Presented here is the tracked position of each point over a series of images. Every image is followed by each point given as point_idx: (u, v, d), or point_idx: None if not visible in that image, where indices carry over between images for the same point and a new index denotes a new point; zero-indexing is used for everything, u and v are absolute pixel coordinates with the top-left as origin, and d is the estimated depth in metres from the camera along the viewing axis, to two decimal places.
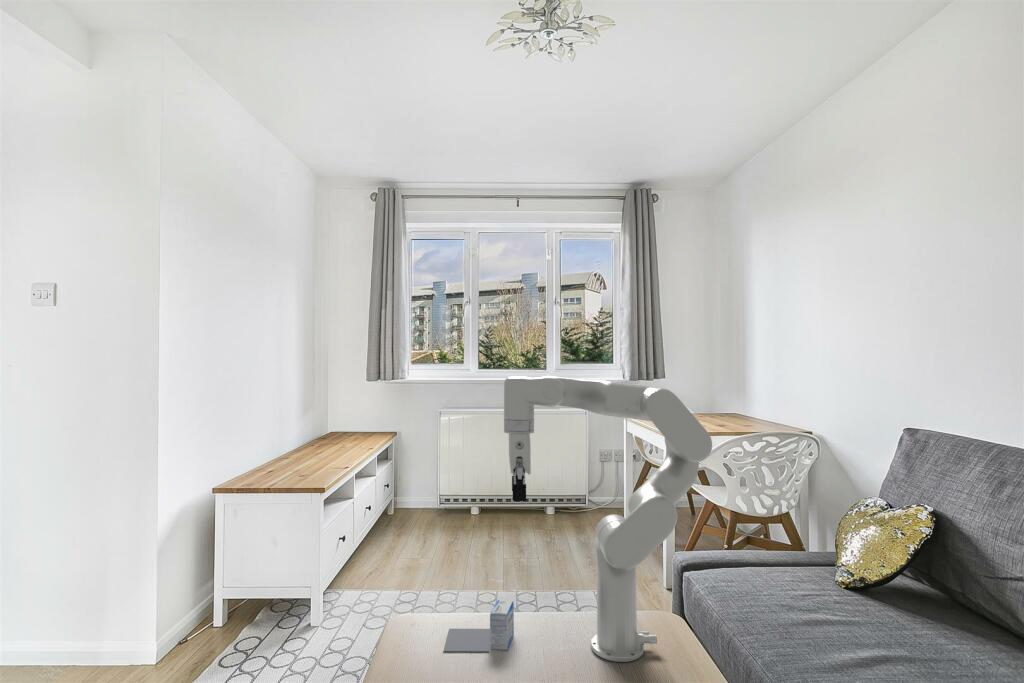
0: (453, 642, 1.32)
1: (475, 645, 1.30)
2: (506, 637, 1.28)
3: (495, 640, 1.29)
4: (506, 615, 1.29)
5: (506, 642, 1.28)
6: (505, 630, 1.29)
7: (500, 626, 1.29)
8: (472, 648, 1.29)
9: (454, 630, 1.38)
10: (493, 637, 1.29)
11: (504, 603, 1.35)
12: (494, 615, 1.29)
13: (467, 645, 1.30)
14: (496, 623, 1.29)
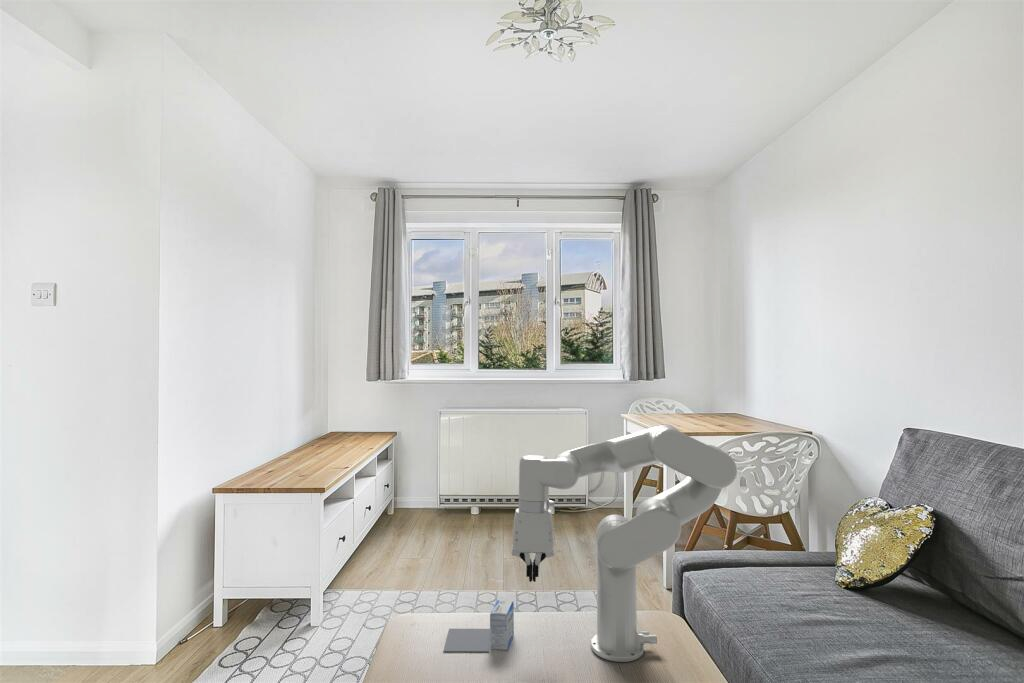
0: (453, 642, 1.32)
1: (475, 645, 1.30)
2: (506, 637, 1.28)
3: (495, 640, 1.29)
4: (506, 615, 1.29)
5: (506, 642, 1.28)
6: (505, 630, 1.29)
7: (500, 626, 1.29)
8: (472, 648, 1.29)
9: (454, 630, 1.38)
10: (493, 637, 1.29)
11: (503, 603, 1.35)
12: (494, 615, 1.29)
13: (467, 645, 1.30)
14: (496, 623, 1.29)
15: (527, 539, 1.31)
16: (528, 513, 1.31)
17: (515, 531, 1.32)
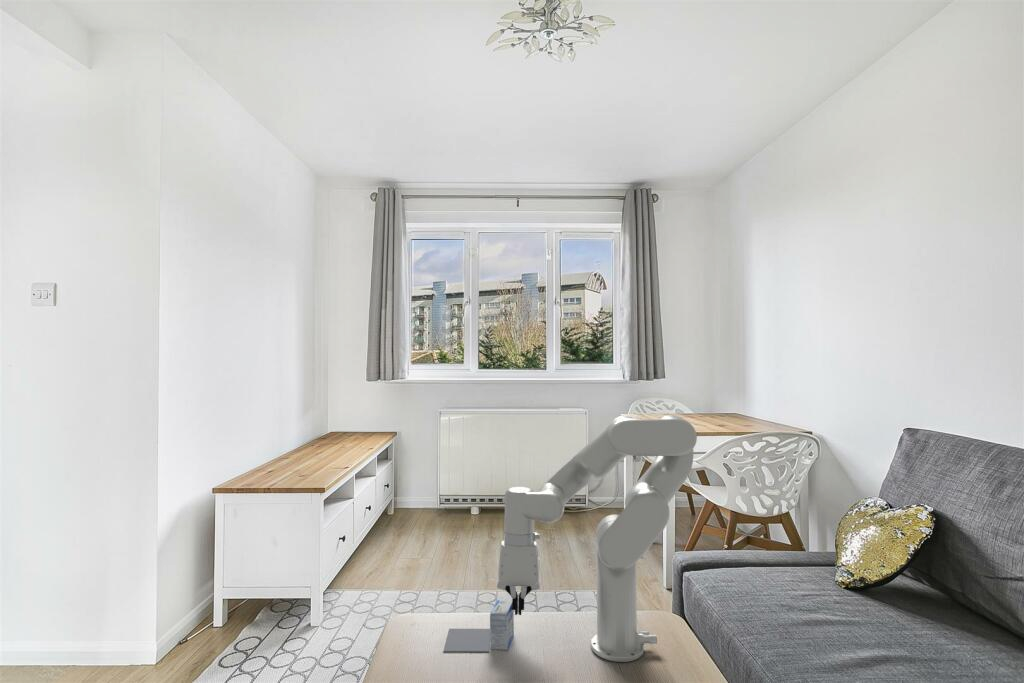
0: (453, 642, 1.32)
1: (475, 645, 1.30)
2: (506, 637, 1.28)
3: (495, 640, 1.29)
4: (506, 615, 1.29)
5: (506, 642, 1.28)
6: (505, 630, 1.29)
7: (500, 626, 1.29)
8: (472, 648, 1.29)
9: (454, 630, 1.38)
10: (493, 637, 1.29)
11: (504, 603, 1.35)
12: (494, 615, 1.29)
13: (467, 645, 1.30)
14: (496, 623, 1.29)
15: (512, 572, 1.31)
16: (513, 546, 1.30)
17: (500, 564, 1.32)
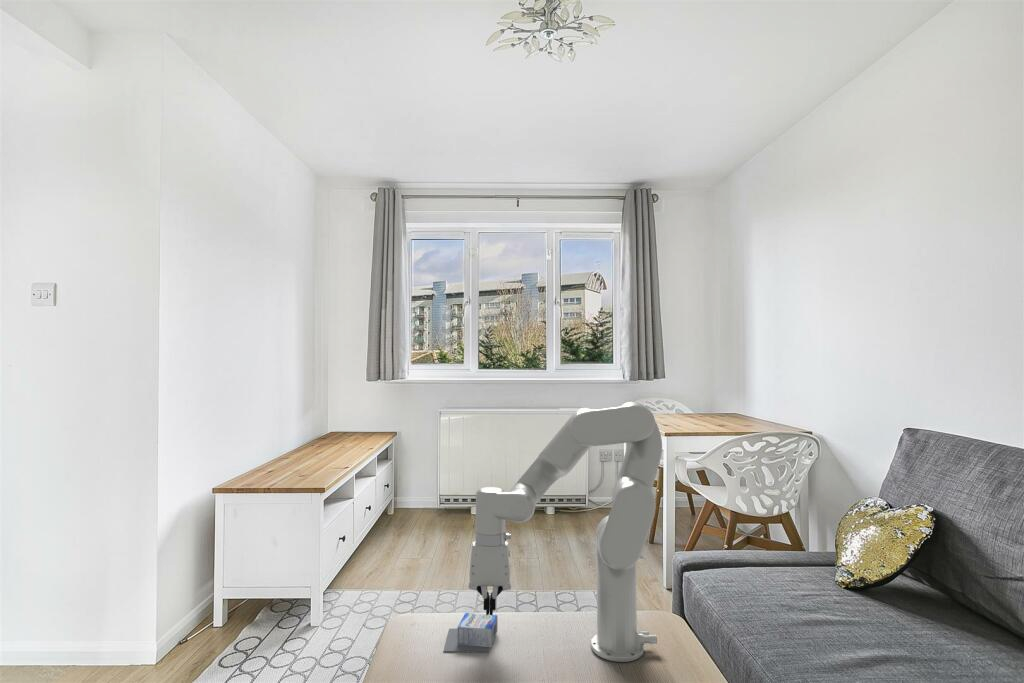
0: (453, 642, 1.32)
1: None
2: (479, 629, 1.30)
3: (483, 641, 1.29)
4: (458, 627, 1.31)
5: (483, 629, 1.30)
6: (472, 629, 1.30)
7: (468, 634, 1.30)
8: (472, 648, 1.29)
9: (454, 630, 1.38)
10: (480, 642, 1.29)
11: None
12: (458, 640, 1.30)
13: (467, 645, 1.30)
14: (466, 638, 1.30)
15: (483, 572, 1.31)
16: (484, 547, 1.30)
17: (471, 565, 1.32)
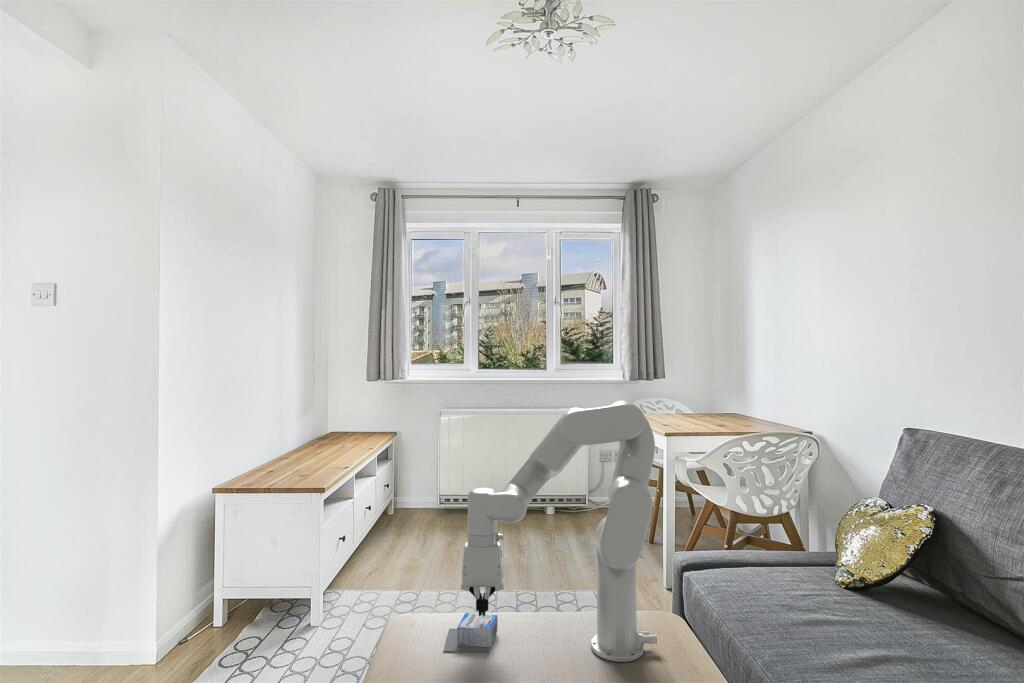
0: (453, 642, 1.32)
1: None
2: (479, 629, 1.30)
3: (483, 641, 1.29)
4: (458, 627, 1.31)
5: (483, 629, 1.30)
6: (472, 629, 1.30)
7: (468, 634, 1.30)
8: (472, 648, 1.29)
9: (454, 630, 1.38)
10: (480, 642, 1.29)
11: None
12: (458, 640, 1.30)
13: None
14: (466, 638, 1.30)
15: (475, 573, 1.31)
16: (476, 547, 1.30)
17: (464, 565, 1.32)
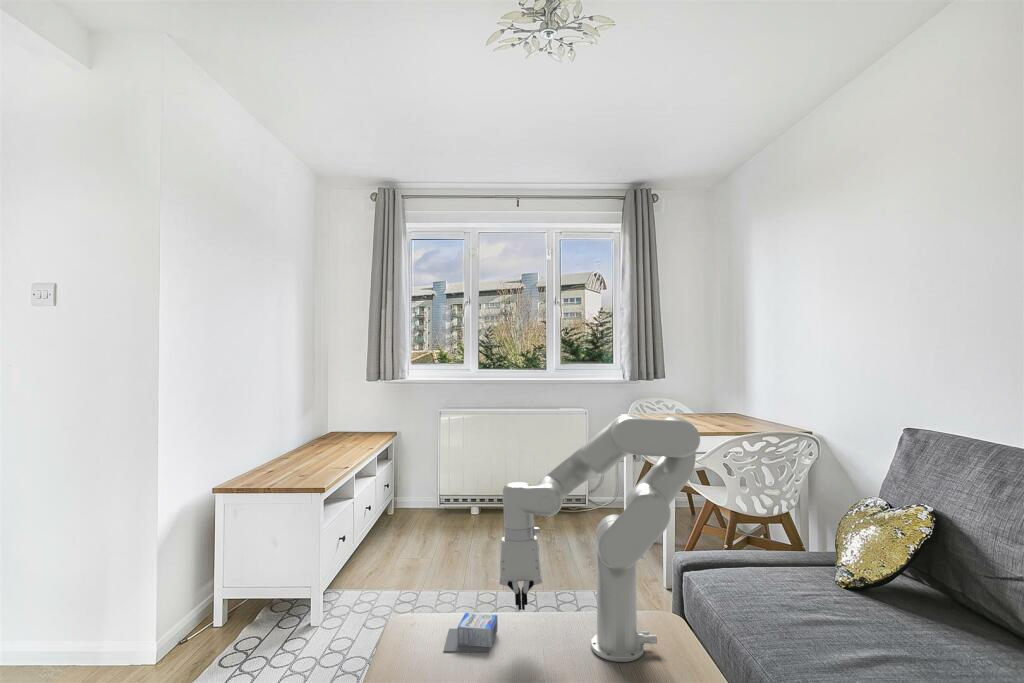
0: (453, 642, 1.32)
1: None
2: (479, 629, 1.30)
3: (483, 641, 1.29)
4: (458, 627, 1.31)
5: (483, 629, 1.30)
6: (472, 629, 1.30)
7: (468, 634, 1.30)
8: (472, 648, 1.29)
9: (454, 630, 1.38)
10: (480, 642, 1.29)
11: None
12: (458, 640, 1.30)
13: (467, 645, 1.30)
14: (466, 638, 1.30)
15: (514, 567, 1.31)
16: (513, 542, 1.30)
17: (502, 560, 1.31)
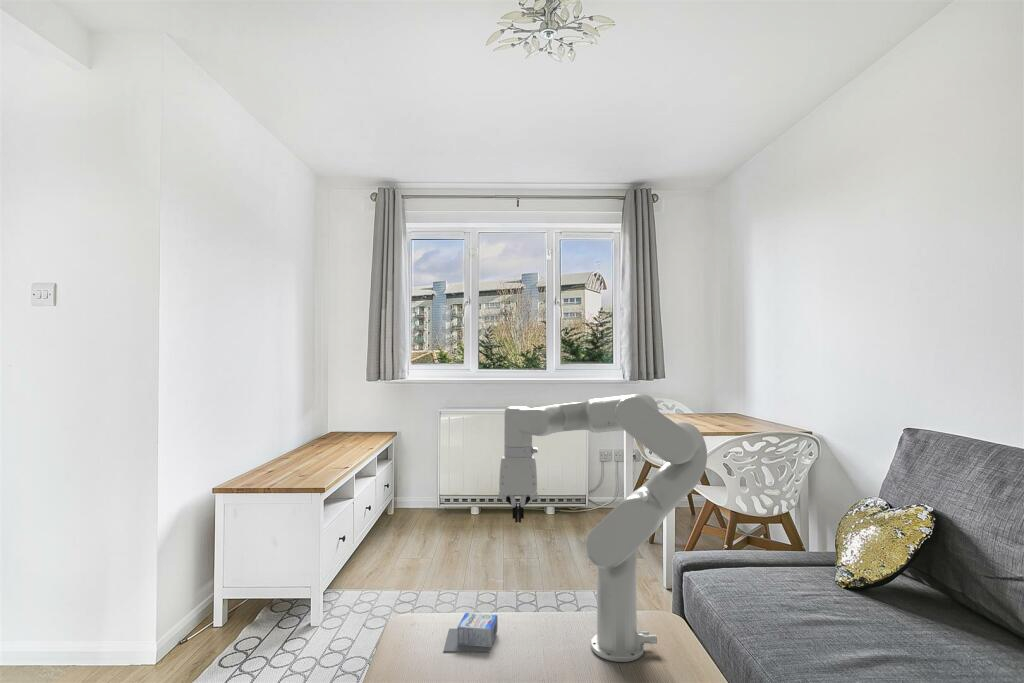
0: (453, 642, 1.32)
1: None
2: (479, 629, 1.30)
3: (483, 641, 1.29)
4: (458, 627, 1.31)
5: (483, 629, 1.30)
6: (472, 629, 1.30)
7: (468, 634, 1.30)
8: (472, 648, 1.29)
9: (454, 630, 1.38)
10: (480, 642, 1.29)
11: None
12: (458, 640, 1.30)
13: None
14: (466, 638, 1.30)
15: (512, 482, 1.41)
16: (513, 458, 1.40)
17: (501, 476, 1.41)
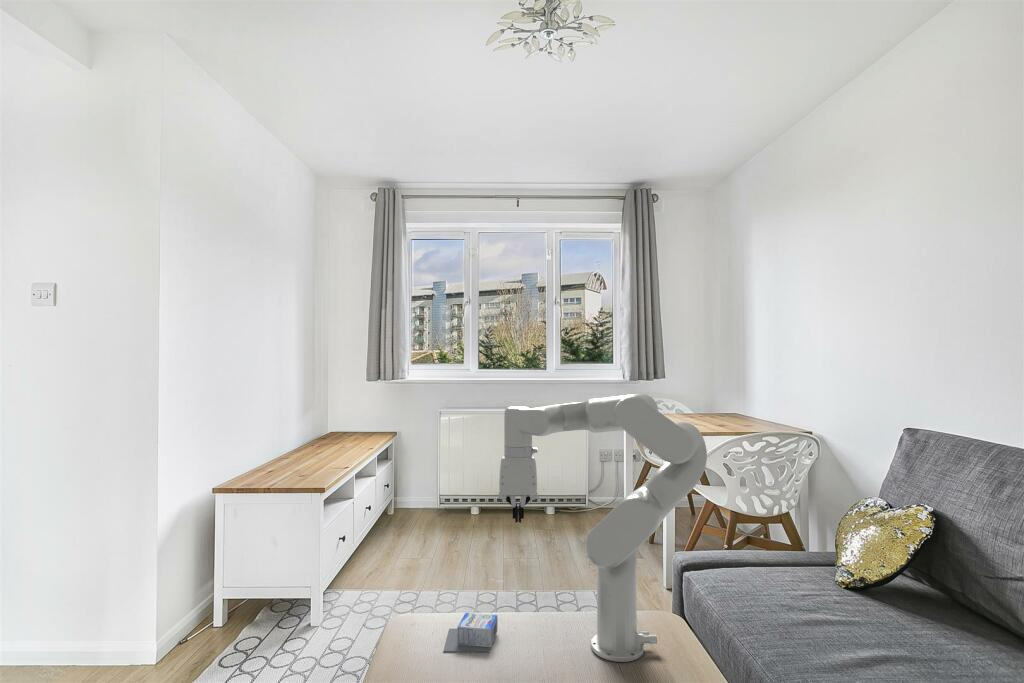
0: (453, 642, 1.32)
1: None
2: (479, 629, 1.30)
3: (483, 641, 1.29)
4: (458, 627, 1.31)
5: (483, 629, 1.30)
6: (472, 629, 1.30)
7: (468, 634, 1.30)
8: (472, 648, 1.29)
9: (454, 630, 1.38)
10: (480, 642, 1.29)
11: None
12: (458, 640, 1.30)
13: None
14: (466, 638, 1.30)
15: (512, 482, 1.41)
16: (513, 458, 1.40)
17: (501, 476, 1.41)
